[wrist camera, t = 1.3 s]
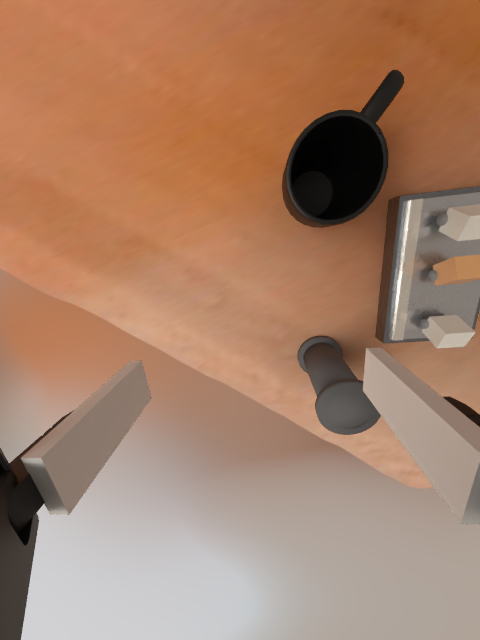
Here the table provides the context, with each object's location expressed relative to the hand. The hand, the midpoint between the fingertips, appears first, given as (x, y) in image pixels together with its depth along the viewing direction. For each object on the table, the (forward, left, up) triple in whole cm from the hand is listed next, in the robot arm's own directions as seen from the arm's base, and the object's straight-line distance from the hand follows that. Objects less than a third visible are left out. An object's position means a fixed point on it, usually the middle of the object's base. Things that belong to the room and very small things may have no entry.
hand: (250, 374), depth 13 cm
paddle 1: (-8, +23, -16) cm, 29 cm away
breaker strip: (-2, +23, -20) cm, 30 cm away
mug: (-14, +9, -20) cm, 26 cm away
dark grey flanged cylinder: (+10, +9, -20) cm, 24 cm away
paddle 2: (+4, +23, -16) cm, 28 cm away
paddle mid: (-2, +23, -16) cm, 28 cm away
